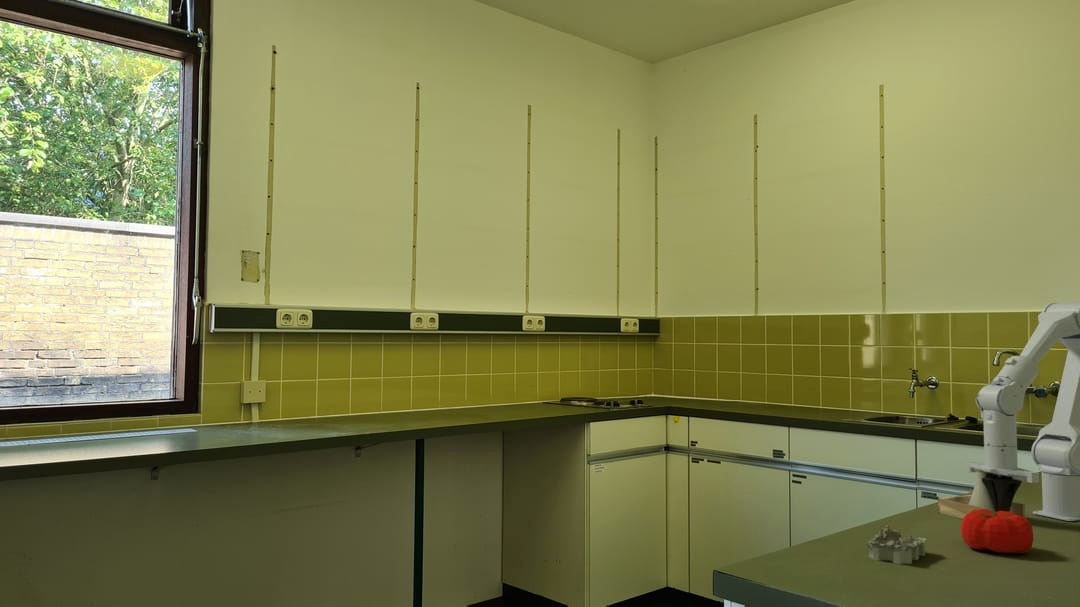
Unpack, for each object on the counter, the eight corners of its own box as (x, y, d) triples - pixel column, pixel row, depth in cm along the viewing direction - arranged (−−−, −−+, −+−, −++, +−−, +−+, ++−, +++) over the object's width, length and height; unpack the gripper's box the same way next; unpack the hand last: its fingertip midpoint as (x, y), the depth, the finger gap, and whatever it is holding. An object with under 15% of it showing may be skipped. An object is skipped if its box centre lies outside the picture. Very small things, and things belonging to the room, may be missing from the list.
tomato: (960, 540, 145) (959, 504, 145) (1031, 547, 140) (1029, 509, 140) (962, 553, 136) (960, 514, 136) (1037, 561, 131) (1036, 521, 131)
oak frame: (976, 508, 172) (975, 494, 172) (1025, 519, 161) (1024, 504, 162) (937, 513, 167) (937, 498, 168) (985, 524, 157) (985, 508, 157)
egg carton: (887, 547, 141) (887, 524, 141) (932, 555, 136) (931, 531, 136) (861, 559, 134) (860, 534, 134) (907, 568, 128) (907, 542, 128)
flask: (995, 513, 167) (993, 465, 167) (1012, 520, 160) (1010, 470, 160) (958, 513, 167) (957, 464, 168) (974, 520, 160) (972, 469, 161)
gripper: (954, 441, 166) (956, 508, 165) (1020, 450, 152) (1022, 523, 152) (979, 440, 168) (981, 505, 168) (1045, 448, 155) (1047, 519, 154)
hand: (1002, 513), depth 160 cm, fingers closed, pressing on flask
